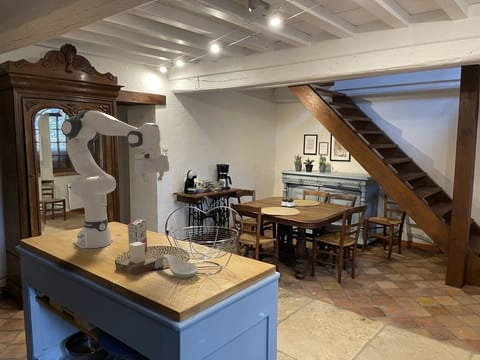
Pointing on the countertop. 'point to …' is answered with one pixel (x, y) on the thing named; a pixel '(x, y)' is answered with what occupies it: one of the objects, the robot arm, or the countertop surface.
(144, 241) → the candy bar box
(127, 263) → the walnut block
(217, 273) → the countertop surface
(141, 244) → the cream box
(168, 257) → the spoon rest
